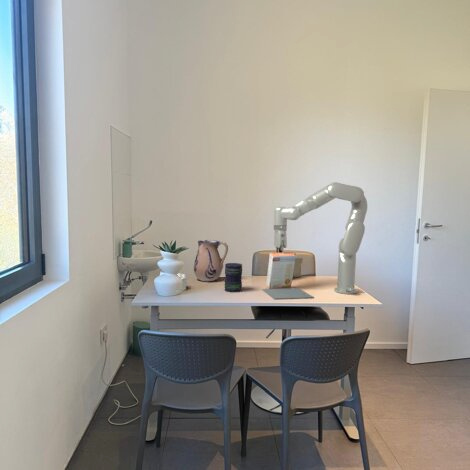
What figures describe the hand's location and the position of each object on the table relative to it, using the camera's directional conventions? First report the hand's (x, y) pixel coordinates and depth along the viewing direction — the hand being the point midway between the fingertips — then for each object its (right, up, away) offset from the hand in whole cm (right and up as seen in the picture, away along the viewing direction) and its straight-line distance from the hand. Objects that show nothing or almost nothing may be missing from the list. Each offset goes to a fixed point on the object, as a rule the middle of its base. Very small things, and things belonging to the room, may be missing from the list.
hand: (279, 259), depth 242 cm
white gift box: (-59, -17, -8) cm, 62 cm away
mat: (+3, -18, -13) cm, 23 cm away
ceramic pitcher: (-41, -15, +18) cm, 47 cm away
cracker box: (0, -16, +1) cm, 17 cm away
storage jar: (-27, -17, -8) cm, 33 cm away
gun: (+11, -15, +31) cm, 36 cm away
